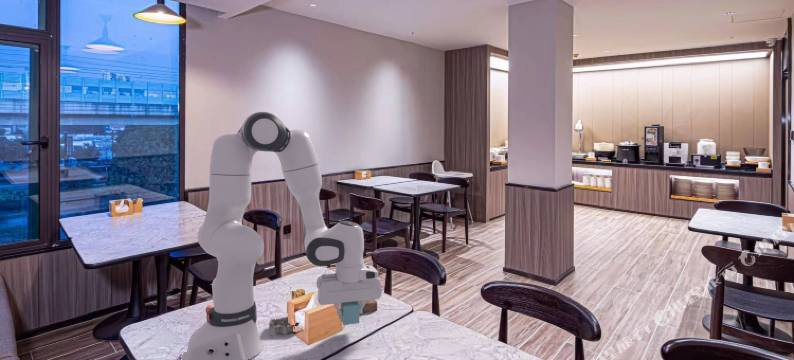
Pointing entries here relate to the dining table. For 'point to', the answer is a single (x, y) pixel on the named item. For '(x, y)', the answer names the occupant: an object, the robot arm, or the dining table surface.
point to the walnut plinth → (369, 305)
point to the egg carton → (280, 326)
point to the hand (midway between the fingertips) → (349, 314)
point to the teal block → (350, 313)
